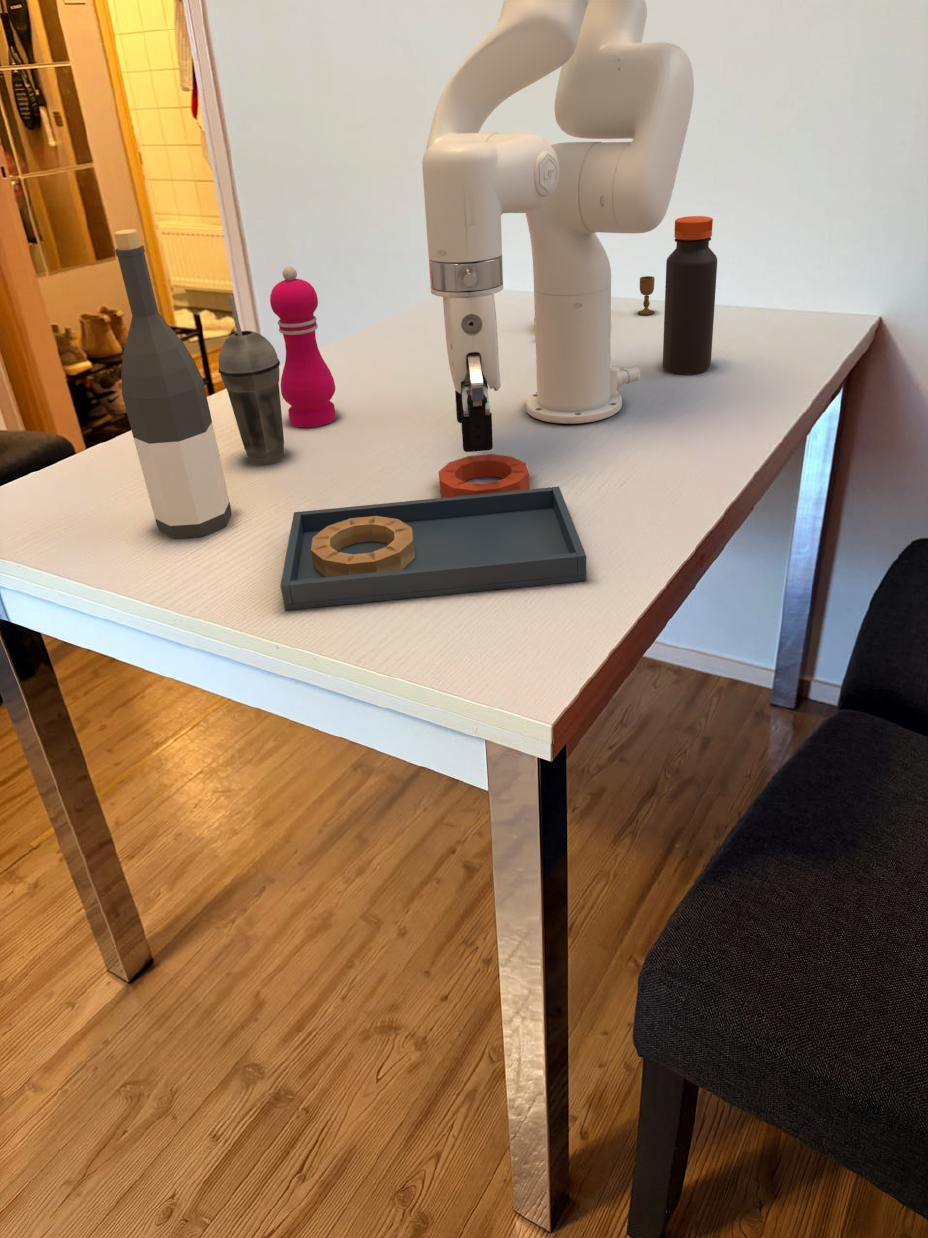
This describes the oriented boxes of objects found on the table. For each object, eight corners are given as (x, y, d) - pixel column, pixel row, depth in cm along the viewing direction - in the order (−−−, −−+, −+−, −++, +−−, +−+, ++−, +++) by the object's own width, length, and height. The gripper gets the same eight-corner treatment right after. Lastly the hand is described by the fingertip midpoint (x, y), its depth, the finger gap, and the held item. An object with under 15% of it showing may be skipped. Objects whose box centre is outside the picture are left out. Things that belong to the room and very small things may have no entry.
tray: (559, 508, 101) (559, 486, 100) (586, 580, 88) (586, 555, 86) (297, 534, 100) (293, 511, 99) (285, 610, 87) (280, 585, 86)
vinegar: (695, 357, 141) (703, 212, 131) (719, 370, 136) (730, 219, 125) (653, 365, 140) (658, 218, 129) (676, 378, 134) (683, 226, 123)
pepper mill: (330, 429, 126) (306, 272, 116) (278, 429, 128) (250, 273, 117) (346, 410, 132) (325, 259, 122) (297, 410, 134) (272, 260, 123)
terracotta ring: (522, 466, 111) (521, 450, 110) (533, 501, 103) (533, 484, 102) (438, 475, 111) (436, 458, 110) (443, 510, 103) (441, 493, 101)
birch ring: (413, 529, 98) (411, 512, 97) (416, 575, 89) (414, 557, 88) (317, 539, 98) (314, 521, 96) (311, 586, 89) (308, 567, 88)
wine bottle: (163, 546, 100) (83, 243, 84) (153, 517, 106) (76, 231, 91) (240, 528, 103) (175, 230, 87) (225, 500, 109) (162, 219, 93)
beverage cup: (306, 448, 121) (278, 285, 111) (278, 470, 115) (246, 301, 105) (255, 445, 123) (224, 285, 113) (226, 467, 118) (190, 300, 107)
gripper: (512, 289, 91) (516, 460, 100) (494, 258, 106) (499, 409, 115) (433, 295, 91) (445, 465, 99) (426, 263, 106) (437, 413, 114)
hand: (474, 435), depth 107 cm, fingers open, 9 cm apart
